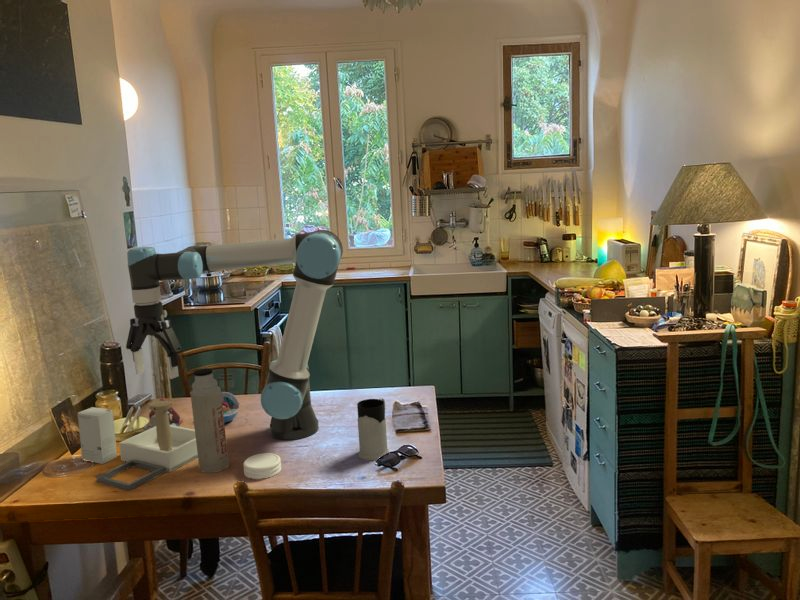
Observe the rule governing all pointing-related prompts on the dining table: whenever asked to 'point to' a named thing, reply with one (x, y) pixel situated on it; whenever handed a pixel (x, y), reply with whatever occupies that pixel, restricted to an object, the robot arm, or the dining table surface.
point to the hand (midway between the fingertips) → (157, 375)
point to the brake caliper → (174, 421)
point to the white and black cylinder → (372, 429)
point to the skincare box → (97, 435)
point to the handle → (162, 424)
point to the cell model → (229, 406)
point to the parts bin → (149, 452)
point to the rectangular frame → (155, 472)
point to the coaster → (262, 466)
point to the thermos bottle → (209, 422)
